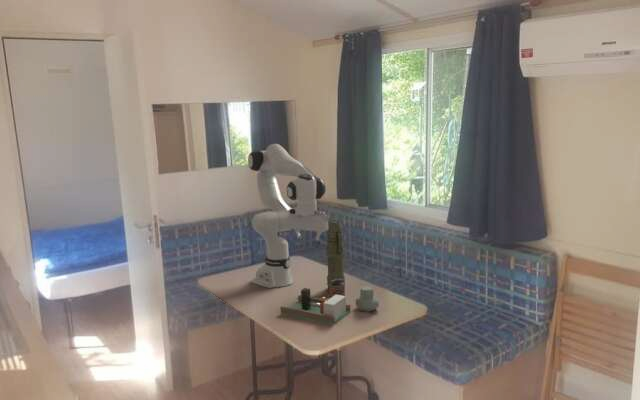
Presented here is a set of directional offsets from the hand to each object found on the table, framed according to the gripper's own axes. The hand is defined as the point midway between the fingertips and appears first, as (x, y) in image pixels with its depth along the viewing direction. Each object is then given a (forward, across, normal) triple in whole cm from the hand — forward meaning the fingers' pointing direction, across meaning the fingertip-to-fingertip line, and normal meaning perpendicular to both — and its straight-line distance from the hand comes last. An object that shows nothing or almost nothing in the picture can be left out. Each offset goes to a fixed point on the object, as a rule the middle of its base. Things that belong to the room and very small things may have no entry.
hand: (308, 239), depth 237 cm
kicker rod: (+30, -8, +9) cm, 32 cm away
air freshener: (+31, -27, -5) cm, 42 cm away
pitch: (+31, -8, +9) cm, 33 cm away
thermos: (+31, -2, -22) cm, 38 cm away
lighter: (+31, -9, -10) cm, 34 cm away
